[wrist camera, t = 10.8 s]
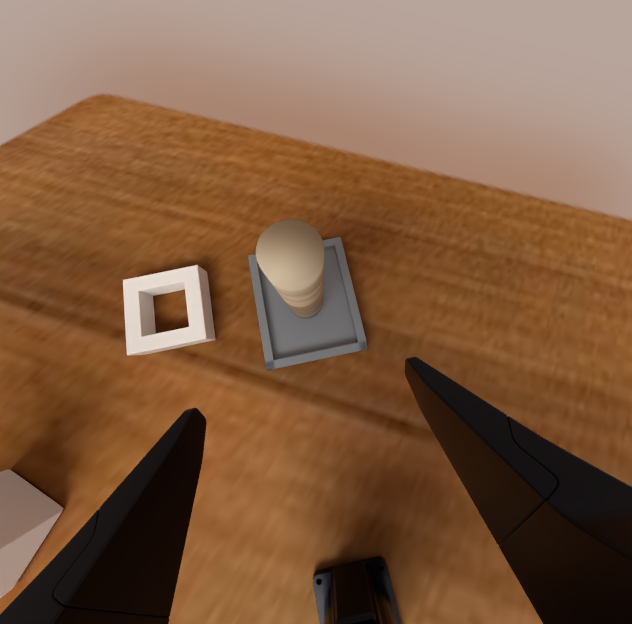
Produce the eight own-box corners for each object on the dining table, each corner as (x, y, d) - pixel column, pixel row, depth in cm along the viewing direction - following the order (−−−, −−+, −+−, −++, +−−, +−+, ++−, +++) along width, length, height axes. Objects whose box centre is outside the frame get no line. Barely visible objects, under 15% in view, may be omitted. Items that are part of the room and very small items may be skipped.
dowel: (318, 322, 23) (314, 290, 11) (285, 313, 23) (247, 274, 11) (326, 290, 23) (331, 227, 12) (294, 282, 24) (266, 213, 12)
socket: (215, 339, 23) (206, 338, 22) (143, 354, 23) (126, 355, 21) (207, 271, 25) (197, 264, 23) (138, 285, 25) (122, 280, 23)
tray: (365, 348, 23) (368, 348, 22) (270, 369, 23) (266, 370, 21) (339, 243, 25) (340, 236, 24) (252, 261, 25) (248, 255, 23)
